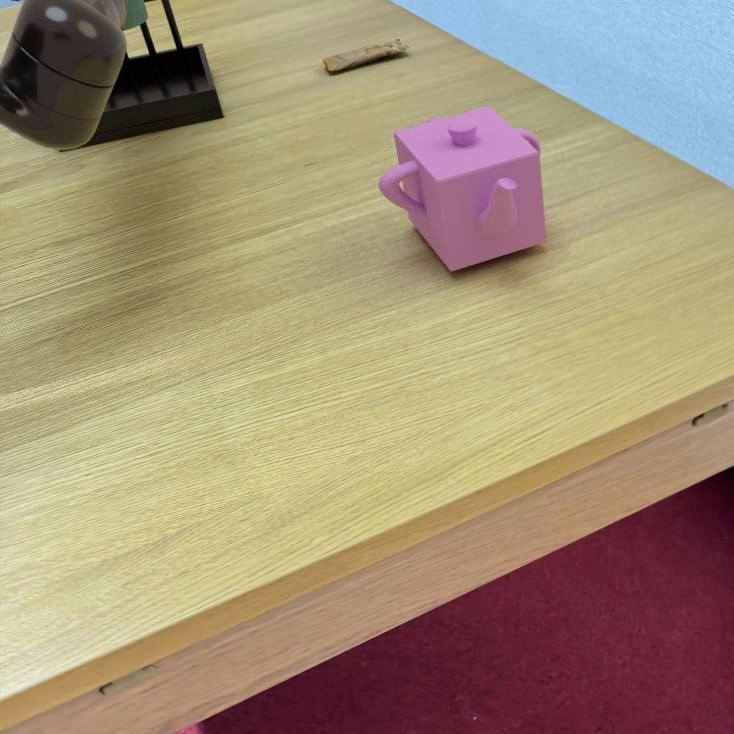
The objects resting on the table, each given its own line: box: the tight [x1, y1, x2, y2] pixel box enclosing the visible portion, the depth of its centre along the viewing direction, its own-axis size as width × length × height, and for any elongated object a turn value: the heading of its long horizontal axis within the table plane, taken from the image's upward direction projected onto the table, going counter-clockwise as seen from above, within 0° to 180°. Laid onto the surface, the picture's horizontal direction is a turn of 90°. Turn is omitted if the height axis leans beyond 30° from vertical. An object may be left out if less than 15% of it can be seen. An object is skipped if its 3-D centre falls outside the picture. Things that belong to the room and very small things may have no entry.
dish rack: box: [58, 0, 225, 152], centre depth 111 cm, size 17×14×9 cm
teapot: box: [378, 106, 547, 272], centre depth 85 cm, size 18×14×10 cm
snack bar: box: [321, 38, 410, 72], centre depth 118 cm, size 10×2×3 cm
